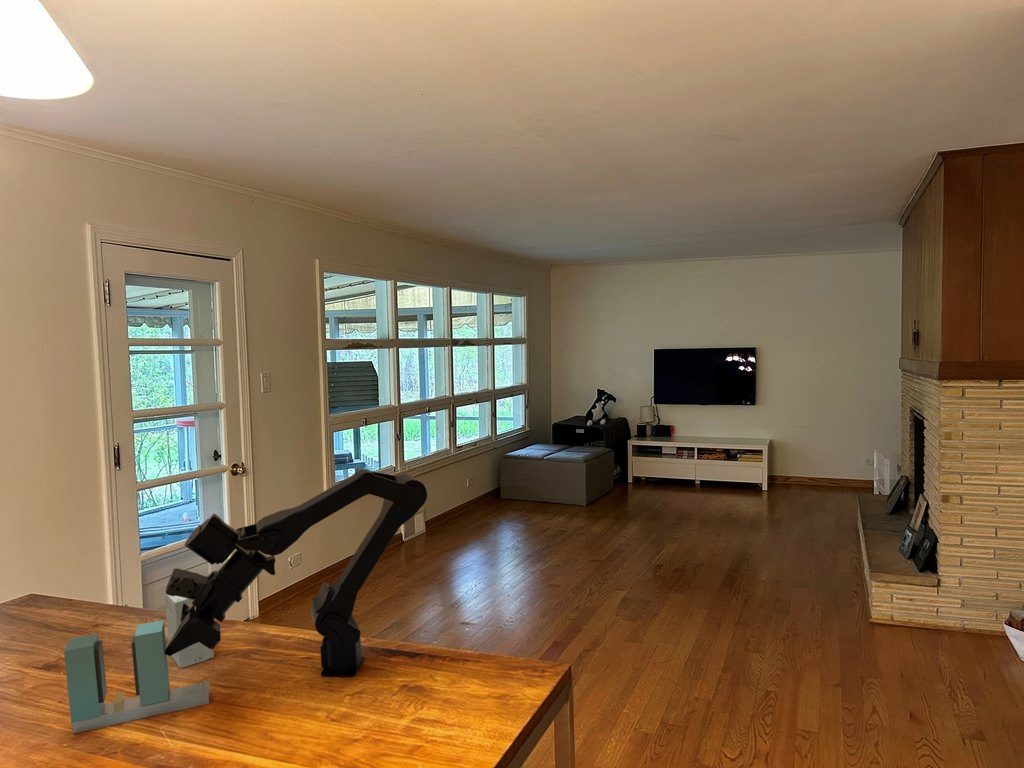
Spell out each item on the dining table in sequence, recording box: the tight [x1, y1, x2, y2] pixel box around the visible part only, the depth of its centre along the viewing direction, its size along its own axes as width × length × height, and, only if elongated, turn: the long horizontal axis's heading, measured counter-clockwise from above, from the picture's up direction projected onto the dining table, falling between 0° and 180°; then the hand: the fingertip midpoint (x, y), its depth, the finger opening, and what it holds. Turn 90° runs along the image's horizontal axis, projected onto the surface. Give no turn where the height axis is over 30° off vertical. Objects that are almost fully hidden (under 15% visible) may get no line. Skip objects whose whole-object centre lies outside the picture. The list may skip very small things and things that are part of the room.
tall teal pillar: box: [130, 619, 171, 706], centre depth 117 cm, size 5×5×12 cm
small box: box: [164, 592, 215, 669], centre depth 137 cm, size 8×6×13 cm
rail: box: [63, 633, 210, 735], centre depth 117 cm, size 20×5×14 cm, turn 112°
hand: (167, 653), depth 118 cm, fingers closed, pressing on tall teal pillar
